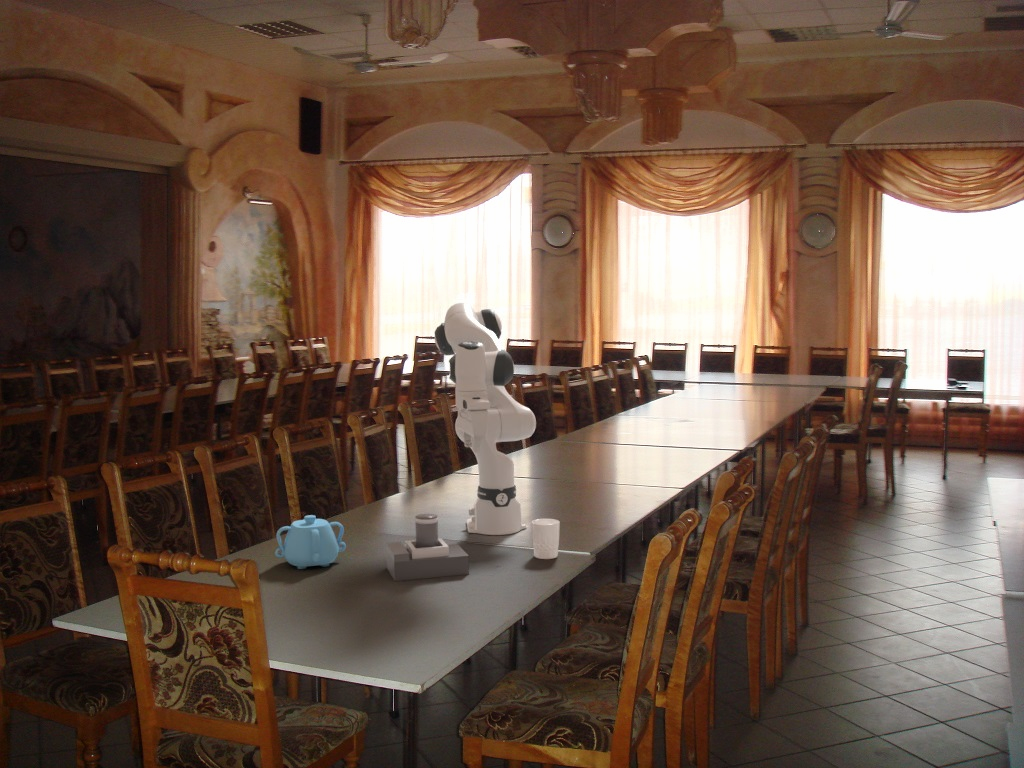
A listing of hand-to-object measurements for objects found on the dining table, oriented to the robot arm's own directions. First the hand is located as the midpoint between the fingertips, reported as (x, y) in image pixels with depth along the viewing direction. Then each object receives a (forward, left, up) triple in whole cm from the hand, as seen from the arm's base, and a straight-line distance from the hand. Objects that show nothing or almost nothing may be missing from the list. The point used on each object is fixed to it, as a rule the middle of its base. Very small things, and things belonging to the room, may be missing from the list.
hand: (472, 449), depth 284 cm
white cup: (+4, +20, -31) cm, 37 cm away
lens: (+8, -15, -26) cm, 31 cm away
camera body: (+8, -15, -31) cm, 35 cm away
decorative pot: (-10, -44, -31) cm, 55 cm away
